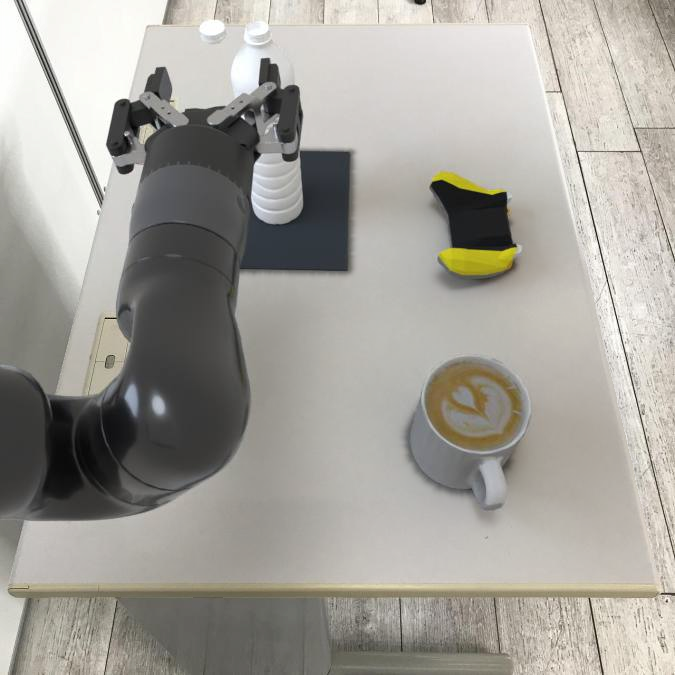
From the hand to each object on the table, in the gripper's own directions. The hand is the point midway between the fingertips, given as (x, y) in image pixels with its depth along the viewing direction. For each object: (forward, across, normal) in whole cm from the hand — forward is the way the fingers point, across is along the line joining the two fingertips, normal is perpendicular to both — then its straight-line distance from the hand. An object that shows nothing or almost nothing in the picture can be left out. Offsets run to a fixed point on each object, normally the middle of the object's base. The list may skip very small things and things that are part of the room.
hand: (216, 72), depth 52 cm
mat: (+13, -1, -27) cm, 30 cm away
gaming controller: (+7, +24, -30) cm, 39 cm away
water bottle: (+13, -1, -27) cm, 30 cm away
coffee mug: (-21, +20, -32) cm, 43 cm away
